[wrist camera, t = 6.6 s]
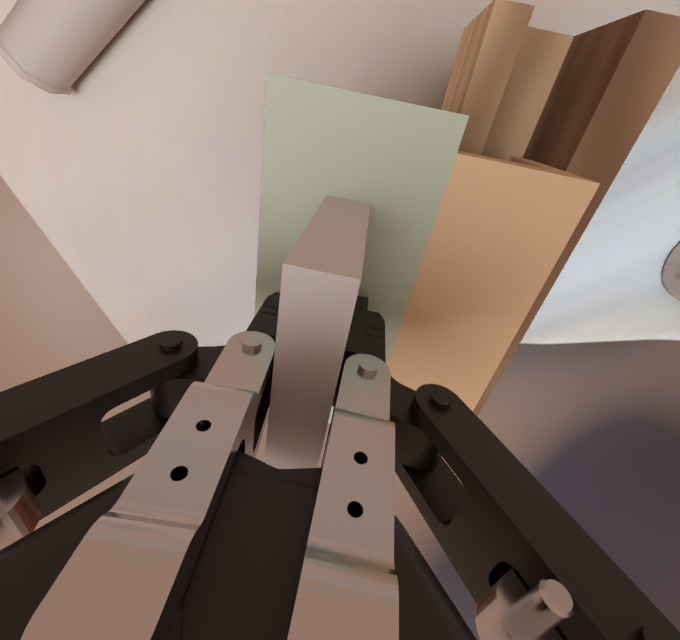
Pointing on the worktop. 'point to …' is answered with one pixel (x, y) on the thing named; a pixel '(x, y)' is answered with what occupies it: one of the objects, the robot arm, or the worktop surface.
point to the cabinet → (393, 248)
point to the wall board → (559, 101)
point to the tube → (60, 38)
